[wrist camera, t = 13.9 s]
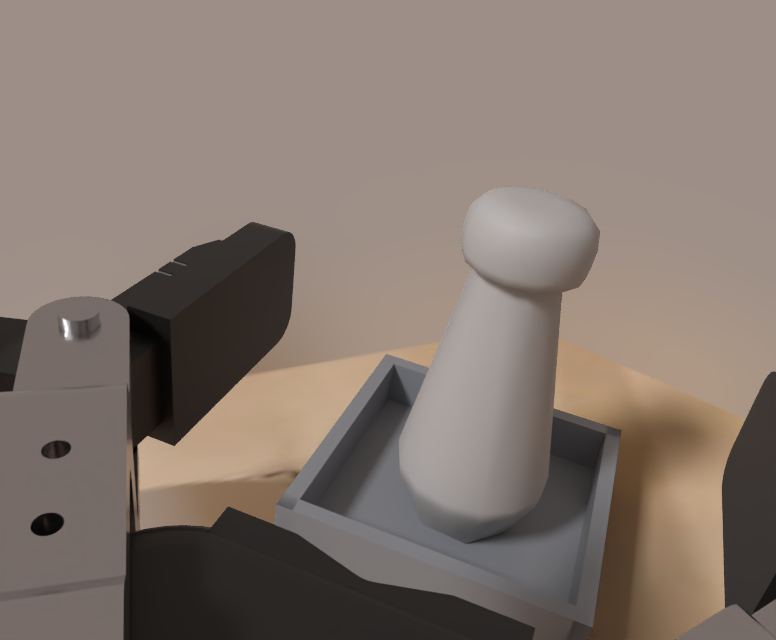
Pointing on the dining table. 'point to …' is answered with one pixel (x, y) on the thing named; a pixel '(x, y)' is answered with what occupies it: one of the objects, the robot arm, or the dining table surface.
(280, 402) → the dining table surface
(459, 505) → the salt shaker
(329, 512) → the tray
